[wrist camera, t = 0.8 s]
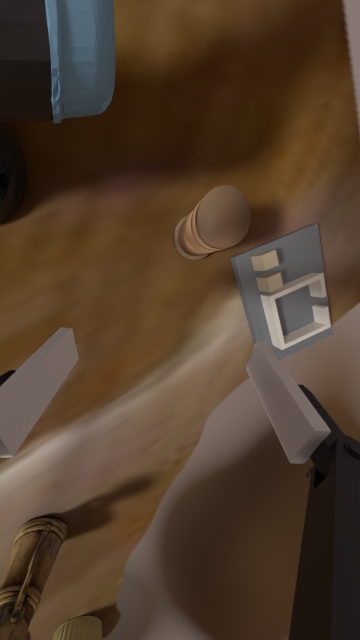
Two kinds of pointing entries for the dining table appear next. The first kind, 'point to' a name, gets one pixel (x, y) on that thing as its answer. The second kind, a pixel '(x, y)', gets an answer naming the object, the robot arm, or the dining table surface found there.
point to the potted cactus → (80, 629)
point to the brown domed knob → (213, 223)
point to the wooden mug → (28, 574)
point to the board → (285, 291)
